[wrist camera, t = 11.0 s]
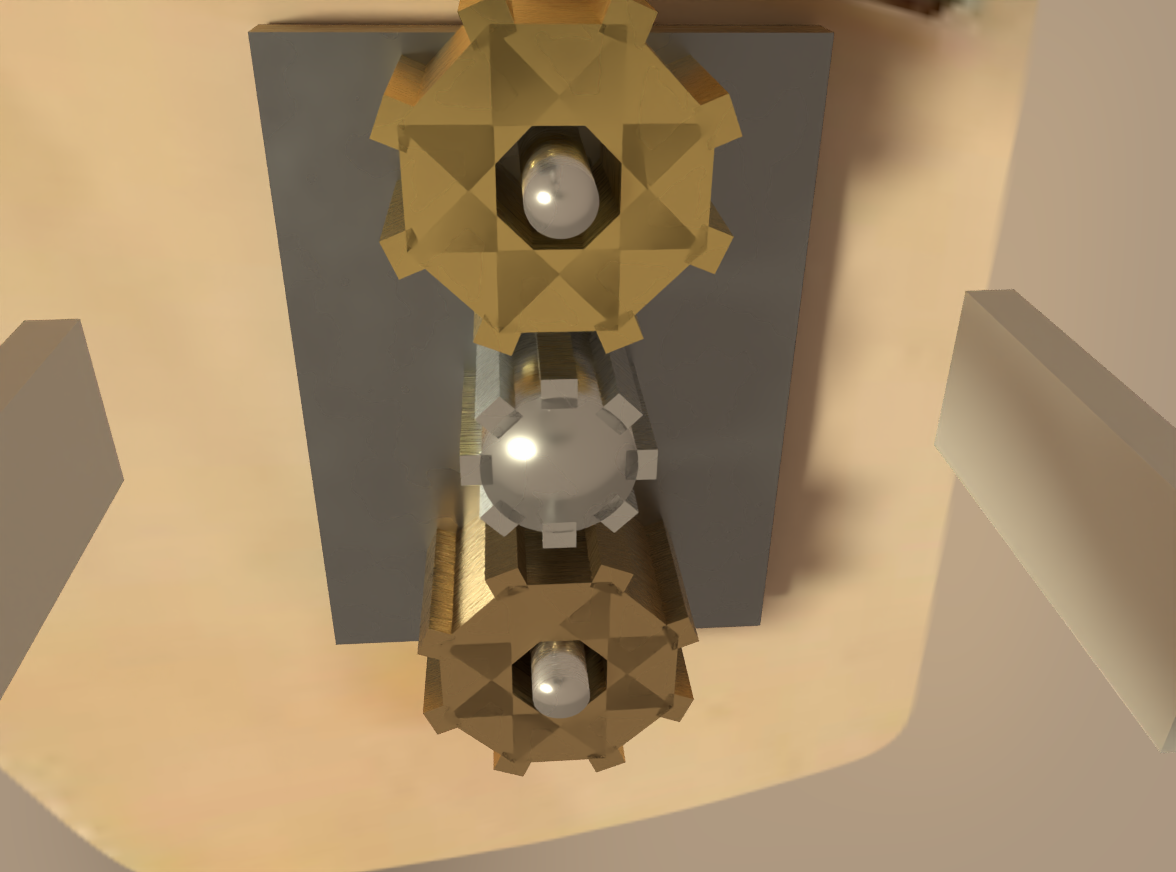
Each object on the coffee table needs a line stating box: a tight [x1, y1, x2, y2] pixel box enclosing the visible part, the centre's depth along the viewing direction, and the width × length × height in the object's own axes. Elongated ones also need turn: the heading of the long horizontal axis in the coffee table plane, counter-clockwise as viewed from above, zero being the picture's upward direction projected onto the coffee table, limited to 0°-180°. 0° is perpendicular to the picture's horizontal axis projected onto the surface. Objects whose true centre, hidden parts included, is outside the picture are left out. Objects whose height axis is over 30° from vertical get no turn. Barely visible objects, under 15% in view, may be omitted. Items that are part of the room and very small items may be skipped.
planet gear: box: [369, 0, 742, 356], centre depth 30 cm, size 10×10×6 cm
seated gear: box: [418, 514, 699, 776], centre depth 39 cm, size 10×10×6 cm
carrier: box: [248, 24, 834, 718], centre depth 35 cm, size 24×18×9 cm
